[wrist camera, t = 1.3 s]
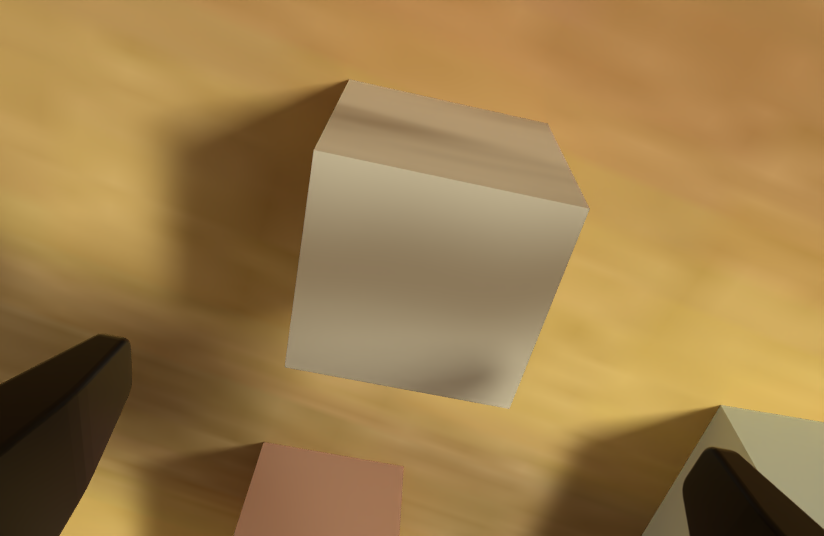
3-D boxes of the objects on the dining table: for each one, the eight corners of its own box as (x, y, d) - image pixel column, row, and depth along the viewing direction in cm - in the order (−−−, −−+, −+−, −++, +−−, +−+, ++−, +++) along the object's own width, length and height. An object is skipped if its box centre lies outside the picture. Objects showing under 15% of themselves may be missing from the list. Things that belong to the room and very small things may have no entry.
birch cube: (492, 286, 18) (509, 408, 14) (322, 252, 17) (284, 367, 13) (547, 122, 15) (589, 208, 11) (349, 78, 15) (313, 150, 11)
